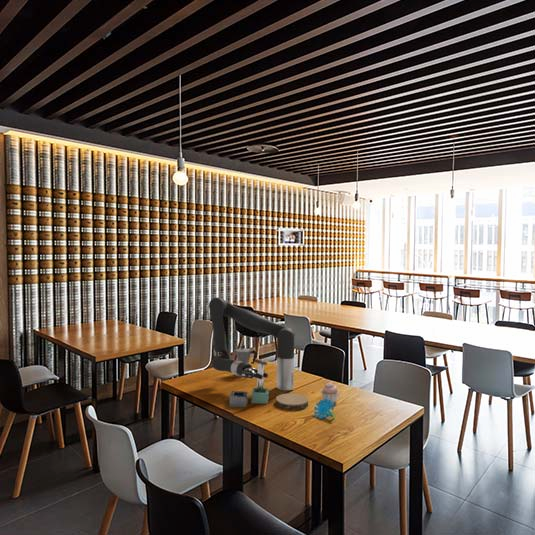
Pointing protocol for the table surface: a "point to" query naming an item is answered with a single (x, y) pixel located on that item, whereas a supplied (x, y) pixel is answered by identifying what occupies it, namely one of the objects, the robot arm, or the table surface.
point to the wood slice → (292, 401)
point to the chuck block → (238, 399)
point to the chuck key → (261, 371)
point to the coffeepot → (245, 355)
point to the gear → (324, 409)
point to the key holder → (260, 396)
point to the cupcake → (330, 392)
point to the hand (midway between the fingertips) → (264, 376)
